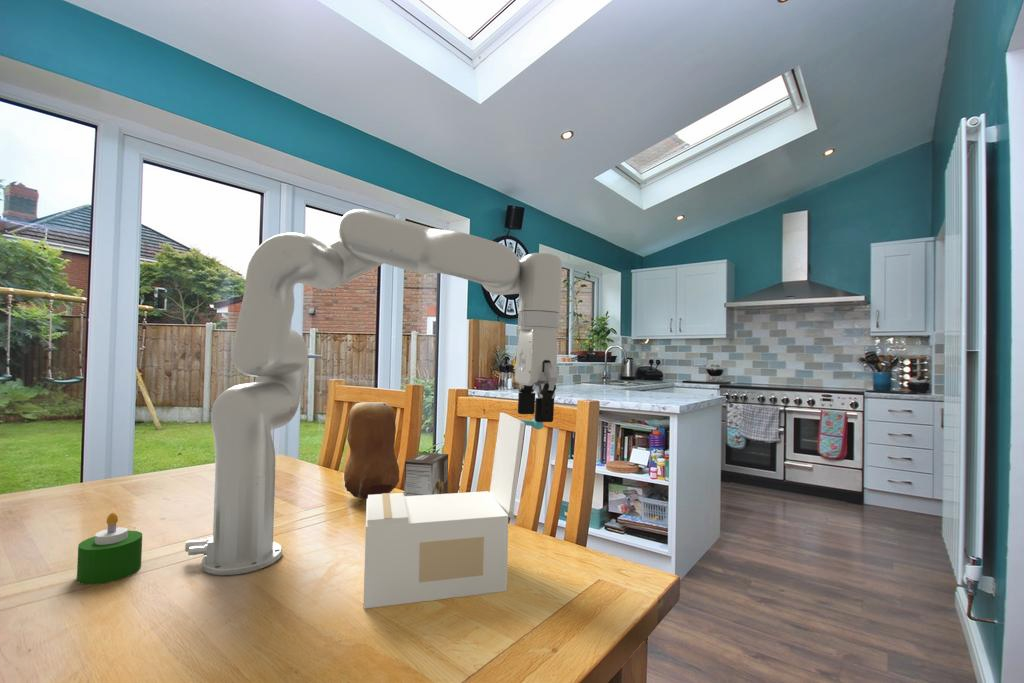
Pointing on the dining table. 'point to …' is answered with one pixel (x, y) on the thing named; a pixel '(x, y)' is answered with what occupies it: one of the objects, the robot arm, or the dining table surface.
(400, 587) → the carton
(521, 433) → the flap
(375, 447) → the butternut squash
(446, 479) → the coffee box
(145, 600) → the dining table surface
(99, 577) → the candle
